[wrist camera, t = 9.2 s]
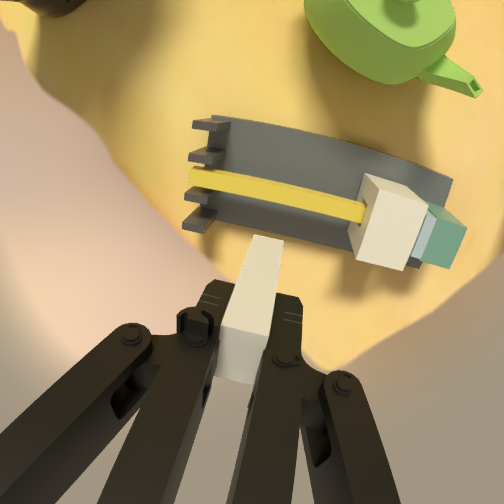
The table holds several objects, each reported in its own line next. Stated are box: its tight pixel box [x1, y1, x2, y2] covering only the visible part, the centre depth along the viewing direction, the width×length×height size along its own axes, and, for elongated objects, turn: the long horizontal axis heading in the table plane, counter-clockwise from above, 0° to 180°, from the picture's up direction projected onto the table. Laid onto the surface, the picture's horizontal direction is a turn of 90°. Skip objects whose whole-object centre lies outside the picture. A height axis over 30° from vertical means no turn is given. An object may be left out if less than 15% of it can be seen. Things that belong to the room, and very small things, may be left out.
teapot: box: [304, 0, 483, 98], centre depth 17 cm, size 20×13×13 cm
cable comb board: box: [182, 115, 467, 269], centre depth 28 cm, size 28×12×7 cm, turn 80°
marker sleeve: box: [347, 173, 429, 271], centre depth 27 cm, size 5×7×7 cm
